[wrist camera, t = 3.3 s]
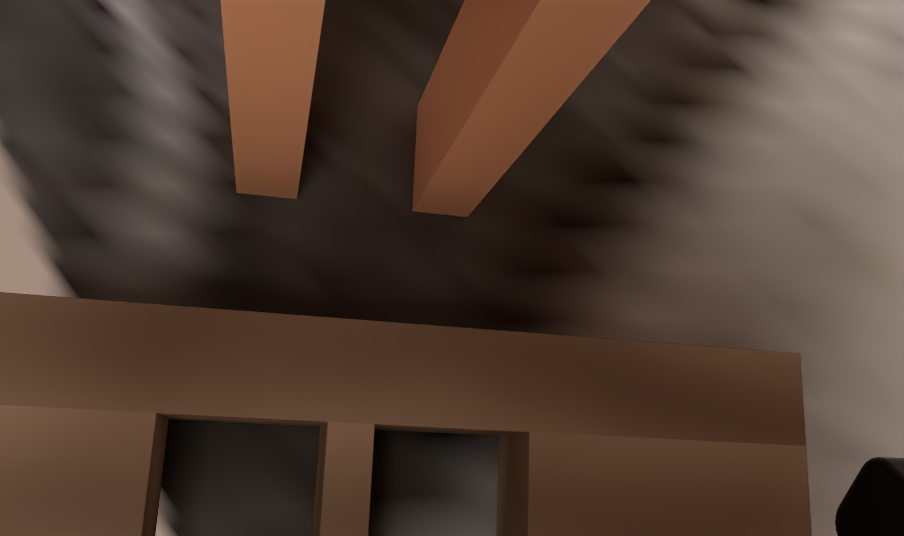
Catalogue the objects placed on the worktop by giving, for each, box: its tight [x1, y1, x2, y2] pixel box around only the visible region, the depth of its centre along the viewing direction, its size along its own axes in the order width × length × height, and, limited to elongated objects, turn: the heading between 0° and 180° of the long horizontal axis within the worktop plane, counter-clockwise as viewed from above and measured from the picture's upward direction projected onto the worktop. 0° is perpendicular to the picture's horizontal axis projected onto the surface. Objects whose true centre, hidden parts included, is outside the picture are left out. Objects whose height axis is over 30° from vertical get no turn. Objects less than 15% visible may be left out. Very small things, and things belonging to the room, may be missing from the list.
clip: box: [221, 0, 651, 217], centre depth 16 cm, size 3×6×13 cm, turn 87°
